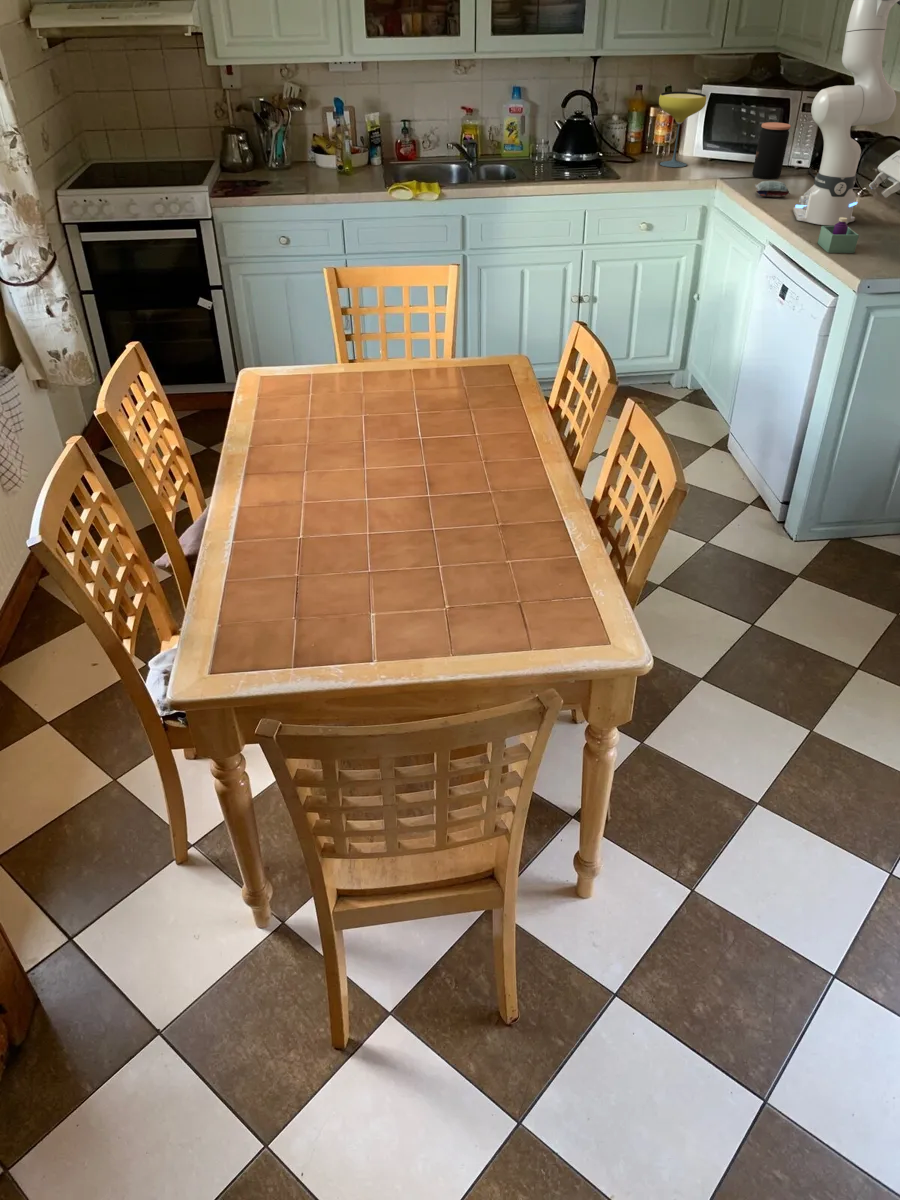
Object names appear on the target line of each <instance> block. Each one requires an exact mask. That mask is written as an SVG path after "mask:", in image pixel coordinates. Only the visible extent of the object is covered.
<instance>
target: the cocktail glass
mask: <svg viewBox="0 0 900 1200" xmlns="http://www.w3.org/2000/svg"><path fill="white" fill-rule="evenodd" d="M706 103H707V95H706V94H705V93H700V92H695V91H694V92H693V91H665V92H661V93H660V95H659V98H658V105H659V107H660V108H661V109H662V111H664V112H665V113H667V114H668V115H669V116H671V117H672V118H673V119H674V121H675V123H676V124H677V131H676V136H675V137H676V138H675V144H674V150H673V155H672V158H671V159H670V160H664V161H661V162H660V163H659V165H660V166H661V167H665V168H685V167H687V166H688V163H686V162H683V161H679V160H678V159H677V148H678V142H679V141H678V140H679V133H680V125H681V124H683V122H684V121H685V120H686V119H688V118H689V117H691V116H693V115H695V114H697V113H699V112H700V111H702V110H703V109H704V108H705V106H706Z"/></svg>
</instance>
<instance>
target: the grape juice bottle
mask: <svg viewBox="0 0 900 1200" xmlns="http://www.w3.org/2000/svg"><path fill="white" fill-rule="evenodd" d="M846 221H847V218H845V217H840V218H839V222H838V223H837V224H835V225H833V226H834V230H833V235H846V233H847V229H848V227H849V225H848V223H847V224H846Z"/></svg>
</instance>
